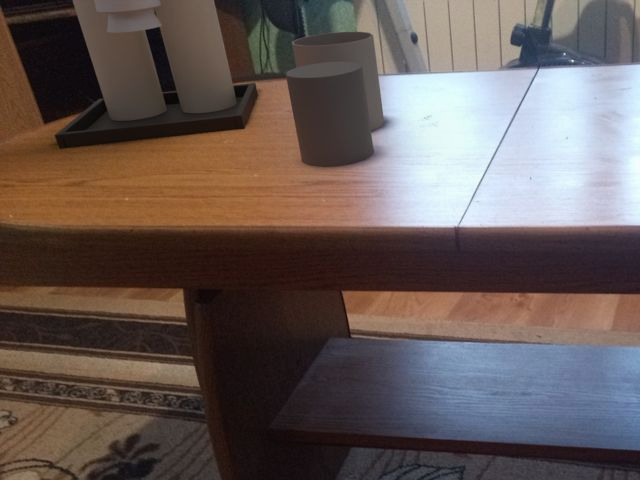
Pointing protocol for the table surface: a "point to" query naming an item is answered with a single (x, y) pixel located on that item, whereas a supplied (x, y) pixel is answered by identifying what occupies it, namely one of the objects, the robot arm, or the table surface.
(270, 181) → the table surface
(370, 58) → the cup
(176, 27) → the ivory candle right
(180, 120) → the tray
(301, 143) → the grey candle
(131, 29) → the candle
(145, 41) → the ivory candle left
